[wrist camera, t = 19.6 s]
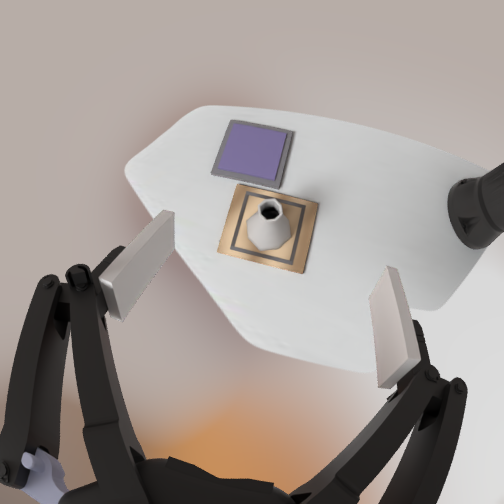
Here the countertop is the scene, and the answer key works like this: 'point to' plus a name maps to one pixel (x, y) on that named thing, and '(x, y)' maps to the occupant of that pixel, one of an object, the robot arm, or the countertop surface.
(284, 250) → the marked board
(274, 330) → the countertop surface
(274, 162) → the ink pad
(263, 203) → the flask
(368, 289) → the countertop surface
